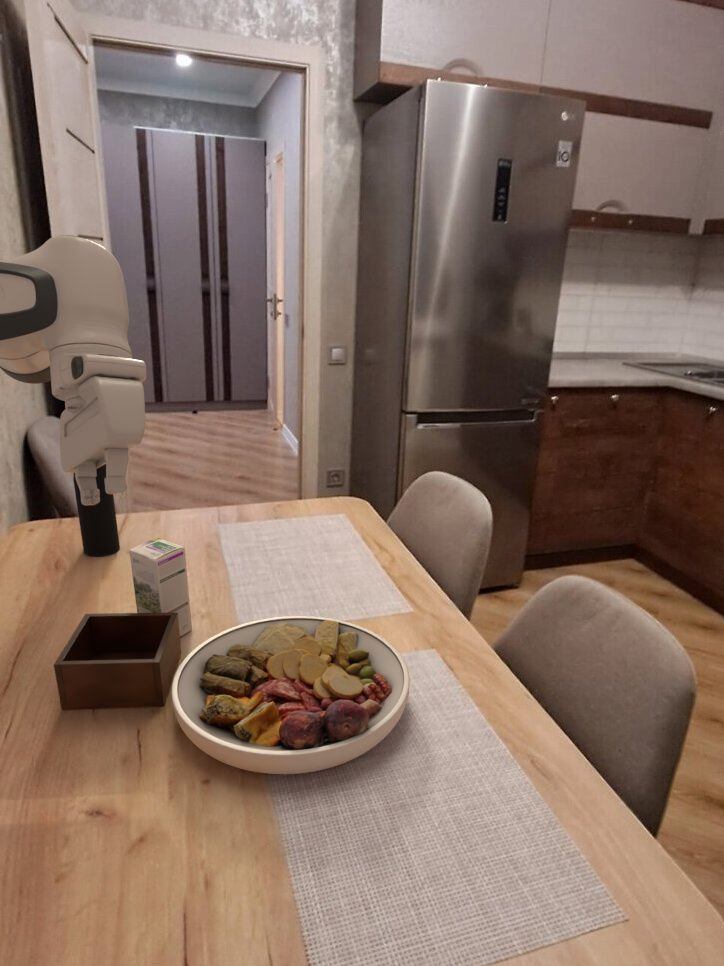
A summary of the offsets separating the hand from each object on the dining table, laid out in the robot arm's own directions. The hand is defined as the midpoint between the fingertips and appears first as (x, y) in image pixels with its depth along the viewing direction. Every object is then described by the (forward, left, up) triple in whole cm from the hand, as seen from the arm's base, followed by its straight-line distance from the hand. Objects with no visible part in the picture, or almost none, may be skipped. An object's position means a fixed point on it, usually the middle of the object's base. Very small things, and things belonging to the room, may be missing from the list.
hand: (102, 499), depth 77 cm
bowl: (+22, -3, -28) cm, 36 cm away
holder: (-1, +4, -28) cm, 28 cm away
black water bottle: (-16, +47, -28) cm, 58 cm away
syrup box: (+2, +16, -28) cm, 33 cm away
